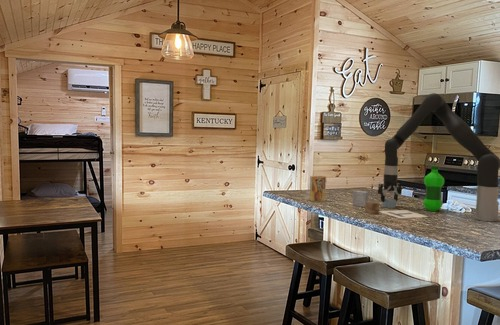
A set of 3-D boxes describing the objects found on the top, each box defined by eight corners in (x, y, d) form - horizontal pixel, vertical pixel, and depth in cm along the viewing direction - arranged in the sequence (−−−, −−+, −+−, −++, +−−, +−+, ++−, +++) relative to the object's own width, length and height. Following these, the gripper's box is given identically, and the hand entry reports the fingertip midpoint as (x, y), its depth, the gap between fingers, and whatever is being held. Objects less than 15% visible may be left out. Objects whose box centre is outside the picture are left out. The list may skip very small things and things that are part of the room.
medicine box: (368, 206, 242) (369, 191, 242) (364, 207, 239) (365, 192, 238) (356, 204, 248) (356, 190, 247) (352, 205, 244) (353, 191, 244)
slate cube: (390, 206, 243) (390, 198, 243) (395, 208, 239) (396, 199, 238) (382, 207, 242) (383, 198, 241) (388, 208, 237) (388, 200, 237)
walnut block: (373, 212, 224) (373, 201, 224) (378, 214, 220) (379, 203, 219) (365, 213, 223) (365, 202, 222) (370, 214, 218) (371, 203, 218)
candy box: (322, 199, 263) (323, 175, 262) (325, 201, 259) (326, 176, 258) (309, 200, 261) (310, 175, 260) (311, 201, 257) (312, 176, 256)
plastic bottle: (419, 210, 235) (422, 165, 233) (426, 207, 243) (429, 164, 241) (438, 212, 228) (441, 167, 226) (444, 210, 236) (447, 166, 234)
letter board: (405, 210, 232) (405, 210, 232) (428, 217, 215) (428, 216, 215) (377, 212, 226) (377, 211, 226) (399, 219, 209) (399, 218, 209)
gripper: (396, 172, 245) (395, 200, 246) (376, 172, 240) (374, 200, 241) (405, 174, 238) (403, 202, 239) (384, 174, 233) (382, 203, 234)
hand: (389, 201), depth 240 cm, fingers open, 8 cm apart
